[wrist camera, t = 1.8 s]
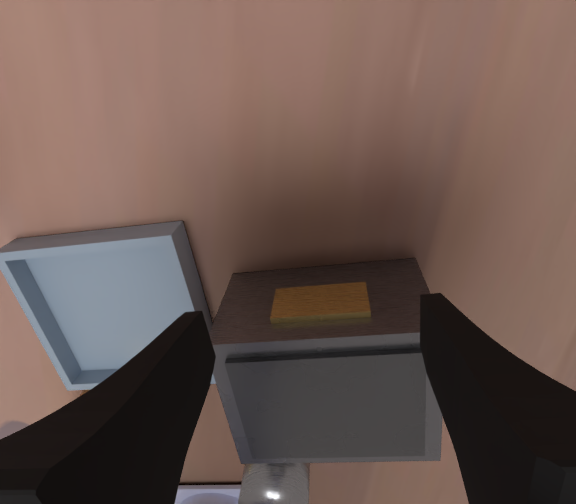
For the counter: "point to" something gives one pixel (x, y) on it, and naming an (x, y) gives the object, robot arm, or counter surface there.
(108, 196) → the counter surface
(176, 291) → the tray
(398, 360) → the unit
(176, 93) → the counter surface
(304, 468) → the part grey
